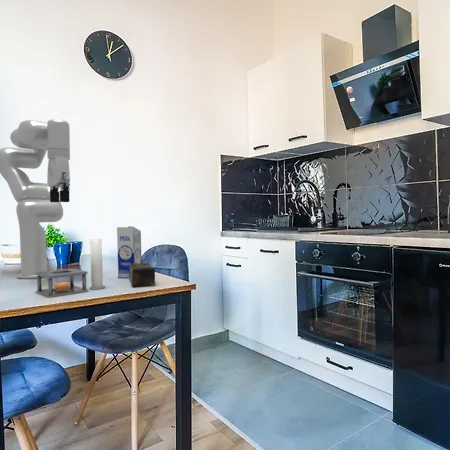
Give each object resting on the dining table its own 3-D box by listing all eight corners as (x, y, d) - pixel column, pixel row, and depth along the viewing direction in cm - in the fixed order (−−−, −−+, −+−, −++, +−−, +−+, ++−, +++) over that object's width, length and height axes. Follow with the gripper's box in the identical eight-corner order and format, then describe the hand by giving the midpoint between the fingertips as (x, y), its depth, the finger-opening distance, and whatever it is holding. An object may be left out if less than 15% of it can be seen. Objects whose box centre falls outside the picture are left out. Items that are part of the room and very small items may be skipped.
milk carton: (117, 278, 148) (116, 226, 147) (126, 275, 154) (125, 226, 154) (134, 278, 146) (133, 226, 146) (142, 275, 153) (141, 225, 152)
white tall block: (89, 287, 128) (88, 239, 127) (100, 285, 130) (98, 238, 130) (94, 288, 125) (93, 239, 124) (104, 286, 127) (103, 239, 127)
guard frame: (36, 292, 123) (35, 272, 123) (73, 286, 131) (72, 268, 131) (49, 297, 114) (48, 276, 114) (88, 291, 122) (87, 271, 122)
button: (52, 289, 122) (52, 283, 122) (66, 287, 125) (66, 281, 125) (57, 291, 119) (57, 284, 119) (71, 289, 122) (71, 283, 122)
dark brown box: (149, 278, 148) (149, 261, 147) (156, 286, 129) (155, 267, 129) (128, 279, 145) (128, 262, 145) (132, 288, 127) (131, 269, 127)
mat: (86, 288, 127) (86, 287, 127) (101, 286, 131) (101, 285, 131) (93, 290, 124) (93, 289, 124) (107, 288, 127) (107, 286, 127)
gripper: (39, 156, 141) (40, 202, 142) (56, 151, 129) (57, 201, 130) (60, 158, 146) (61, 202, 147) (78, 153, 134) (79, 202, 135)
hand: (59, 202), depth 138 cm, fingers open, 9 cm apart
